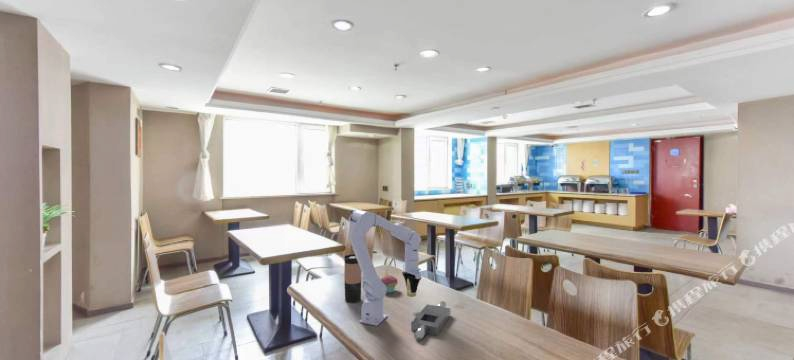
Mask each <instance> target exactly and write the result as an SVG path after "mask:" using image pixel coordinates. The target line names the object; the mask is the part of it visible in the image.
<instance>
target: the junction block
mask: <svg viewBox="0 0 794 360" xmlns="http://www.w3.org/2000/svg"><path fill="white" fill-rule="evenodd" d="M450 317H451V308H450V307H447V303H446V301H444V300H443V301H442V300H441V301H439V303H438V304H437V305H434V304H433V305H432V304H426V305H425V306H424V307H423V308H422V309H421V311H420V312H419V313H418V314H417V315H416V316H415V318H413V320H412V321H411V323H410V327H411V328H410V329H411V331H413V332H414V335H413V337H414V339H415V340H416V341H418V342H419V341H422V339H423V338H424V337H425V335H426V334H427V335H432V336H438V335H439V333H441V331H442V329H443V328H444V326H445V325H446V323H447V321H449V318H450Z"/></svg>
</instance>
